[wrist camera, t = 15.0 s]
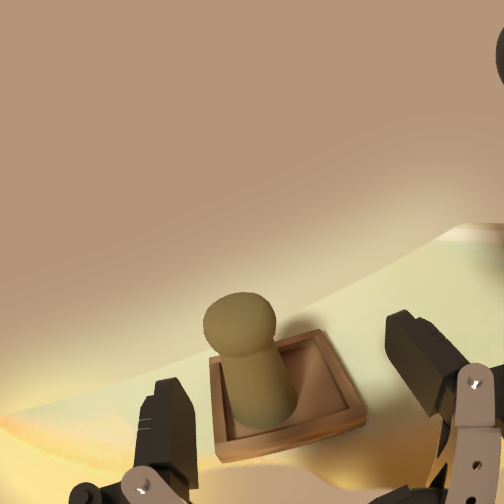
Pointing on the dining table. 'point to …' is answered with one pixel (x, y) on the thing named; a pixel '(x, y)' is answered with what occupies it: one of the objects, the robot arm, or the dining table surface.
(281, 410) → the olive pepper mill
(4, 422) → the dining table surface
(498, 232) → the dining table surface
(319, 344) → the tray
